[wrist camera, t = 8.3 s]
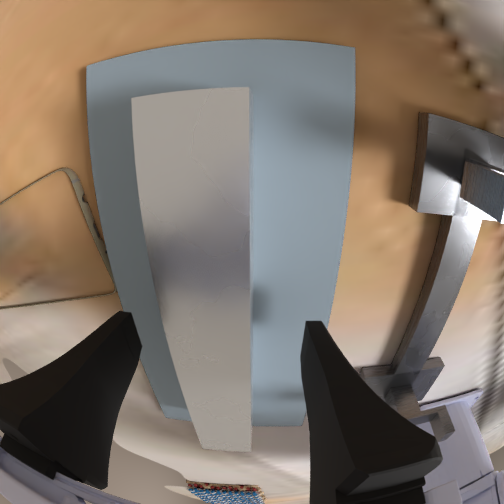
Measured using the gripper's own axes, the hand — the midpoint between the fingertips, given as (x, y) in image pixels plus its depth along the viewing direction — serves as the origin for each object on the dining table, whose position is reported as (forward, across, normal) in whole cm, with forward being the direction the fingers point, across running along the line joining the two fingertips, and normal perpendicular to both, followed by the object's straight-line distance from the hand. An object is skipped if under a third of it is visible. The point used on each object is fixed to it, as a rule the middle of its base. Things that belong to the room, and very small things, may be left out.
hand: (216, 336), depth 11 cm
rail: (+2, 0, 0) cm, 2 cm away
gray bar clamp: (+2, -11, 0) cm, 11 cm away
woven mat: (+3, +2, +37) cm, 37 cm away
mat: (+2, 0, 0) cm, 2 cm away
